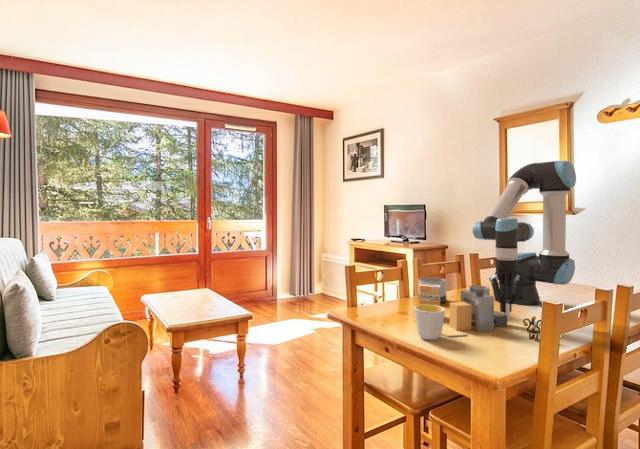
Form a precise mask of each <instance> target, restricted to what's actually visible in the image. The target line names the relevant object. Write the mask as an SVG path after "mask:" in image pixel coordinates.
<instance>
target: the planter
mask: <svg viewBox="0 0 640 449" xmlns="http://www.w3.org/2000/svg"><path fill="white" fill-rule="evenodd" d="M420 284H429V285H441V289H440V304H441V303H443V302H445V301H446V300H447V279H446V278H441V277H435V276H432V277H431V276H427V277H426V276H425V277H420V278H418V293H417V294H418V295H417V296H418V299H419V296H420Z"/></svg>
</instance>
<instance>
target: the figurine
mask: <svg viewBox="0 0 640 449" xmlns="http://www.w3.org/2000/svg"><path fill="white" fill-rule="evenodd" d="M536 319H537V317H536V316H535V315H532V316H531V320H530V319H529V318H523V320H522V323H523V324H522V325H523V326H524V327H527V328H526V331H525V332H526V333H528V337H527V338H528V340H532V341H534V340H535V341H539V339H540V338H539V335H540V333H541V331H540V330H541V328H540V325H541V324H542V323H540V322H542V321H541V320H542V319H538V320H537V321H536ZM526 321H528V322H526ZM528 323H529V324H528ZM539 323H540V324H539ZM530 328H531V329H530ZM537 329H538V330H537ZM535 341H534V342H535Z"/></svg>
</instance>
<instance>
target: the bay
mask: <svg viewBox="0 0 640 449" xmlns="http://www.w3.org/2000/svg"><path fill="white" fill-rule="evenodd" d="M444 322H445V320H444V321H443V323H444ZM447 337H448V338H457V337H458V338H459V337H460V338H461V337H468V334H454V335H447Z"/></svg>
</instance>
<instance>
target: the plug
mask: <svg viewBox="0 0 640 449" xmlns="http://www.w3.org/2000/svg"><path fill="white" fill-rule="evenodd" d="M474 325H475V320H472V305H470V304H468V303H466V302H461V301H458V302H455V301H454V302H449V328H452V329H454V330H455V331H463V330H464V331H465V330H466V331H467V330H472V329H473V327H472V326H474ZM494 327H497V328H500V327H504V328H505V327H508V321H507V315H504V314H502V312H494Z"/></svg>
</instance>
